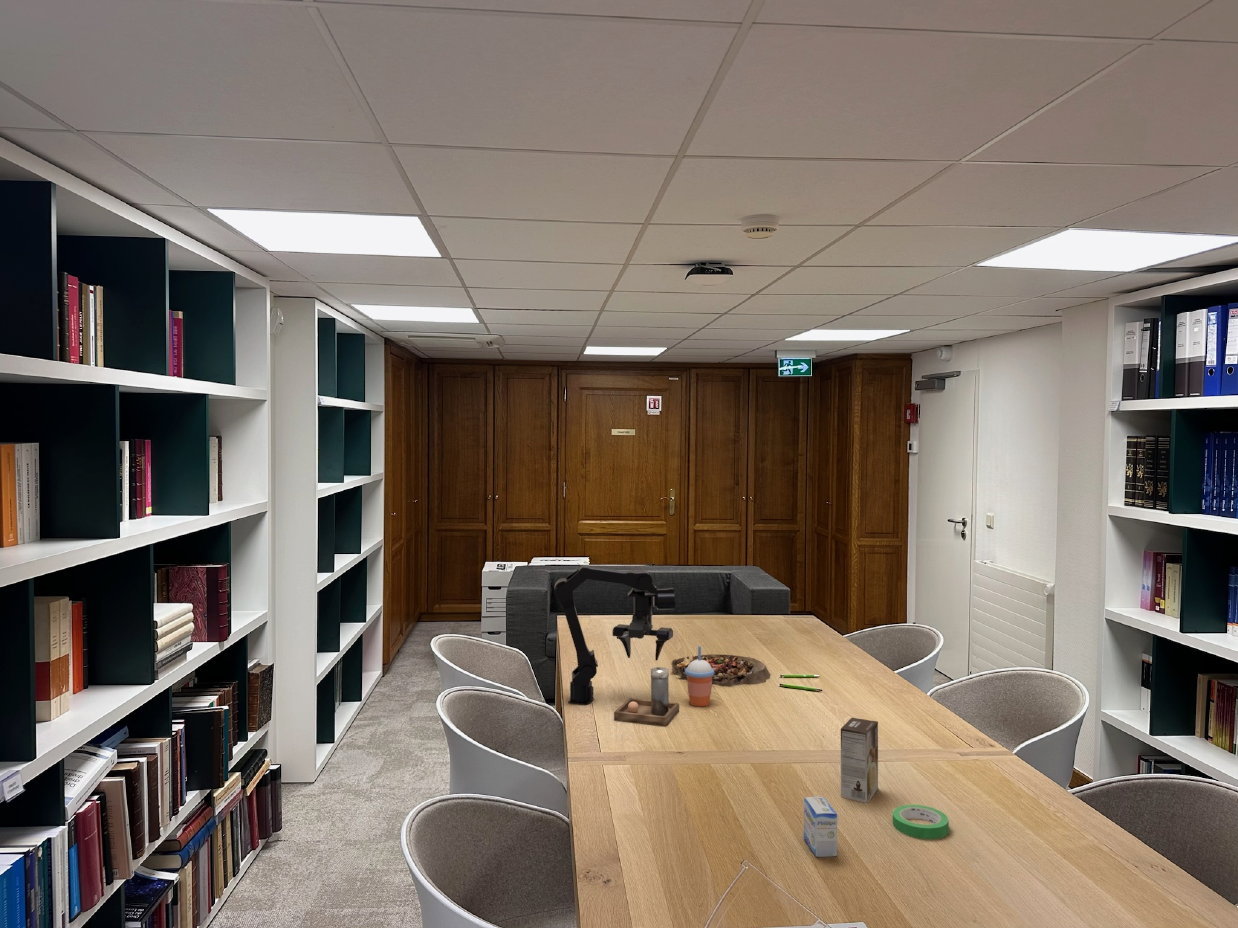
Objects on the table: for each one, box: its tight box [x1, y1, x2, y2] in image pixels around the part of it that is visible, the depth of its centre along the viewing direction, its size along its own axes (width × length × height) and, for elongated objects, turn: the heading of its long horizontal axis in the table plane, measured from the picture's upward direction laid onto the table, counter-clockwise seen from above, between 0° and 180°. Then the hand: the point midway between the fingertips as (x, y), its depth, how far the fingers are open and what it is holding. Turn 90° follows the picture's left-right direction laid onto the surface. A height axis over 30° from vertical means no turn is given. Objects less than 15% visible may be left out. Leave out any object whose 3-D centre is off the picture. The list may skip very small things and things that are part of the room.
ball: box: [628, 701, 639, 713], centre depth 242 cm, size 3×3×3 cm
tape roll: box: [892, 804, 950, 840], centre depth 171 cm, size 11×11×3 cm
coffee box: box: [840, 717, 879, 804], centre depth 187 cm, size 9×6×16 cm
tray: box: [613, 697, 680, 727], centre depth 242 cm, size 16×14×2 cm
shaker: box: [650, 666, 670, 716], centre depth 241 cm, size 5×5×13 cm
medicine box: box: [803, 796, 838, 858], centre depth 162 cm, size 8×4×9 cm, turn 5°
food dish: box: [671, 653, 772, 687], centre depth 287 cm, size 35×33×8 cm
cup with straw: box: [685, 645, 714, 707], centre depth 253 cm, size 9×9×18 cm
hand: (642, 658), depth 257 cm, fingers open, 9 cm apart
